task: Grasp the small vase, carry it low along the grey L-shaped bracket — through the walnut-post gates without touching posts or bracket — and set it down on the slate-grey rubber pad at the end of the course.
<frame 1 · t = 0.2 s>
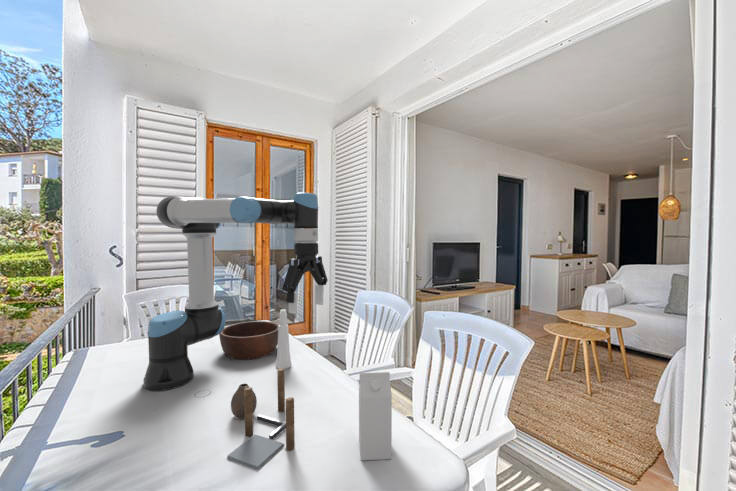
hand: (306, 308, 109), 28 cm above the table, fingers open, 13 cm apart
cosmetic bottle: (283, 366, 132), on the table
posts: (266, 421, 94), on the table
milk carton: (374, 451, 82), on the table
vase: (244, 416, 97), on the table
grey l-shaped bracket: (285, 427, 91), on the table
pad: (256, 451, 81), on the table
wooden bowl: (251, 352, 148), on the table
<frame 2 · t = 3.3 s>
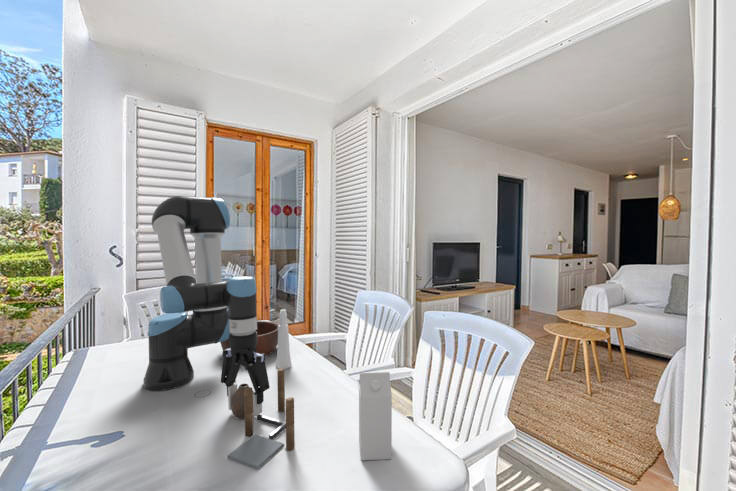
hand: (245, 410, 97), 1 cm above the table, fingers open, 8 cm apart
nothing on the table moved.
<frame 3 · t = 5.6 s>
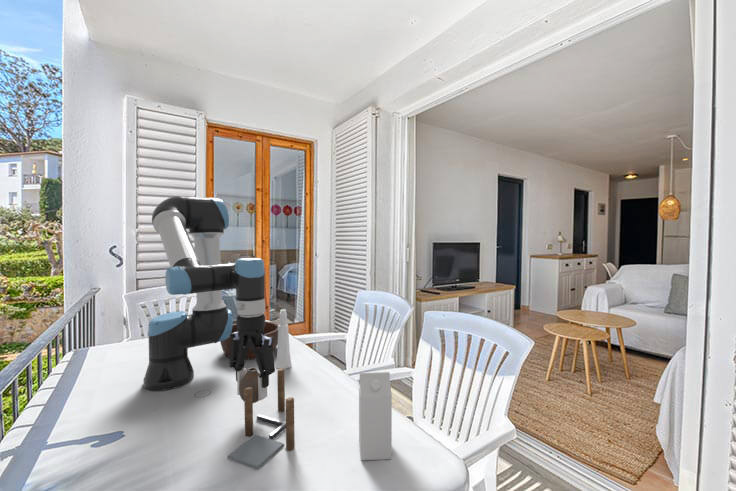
hand: (252, 395, 95), 7 cm above the table, fingers closed on vase, 7 cm apart
vase: (252, 400, 95), point 5 cm above the table, touching gripper
everything else where it was.
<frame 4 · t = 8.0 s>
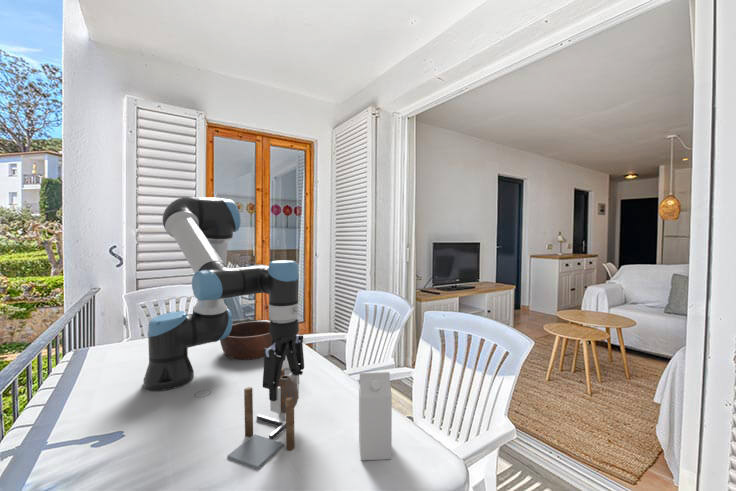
hand: (285, 404, 91), 6 cm above the table, fingers closed on vase, 7 cm apart
vase: (285, 410, 91), point 5 cm above the table, touching gripper
everything else where it was.
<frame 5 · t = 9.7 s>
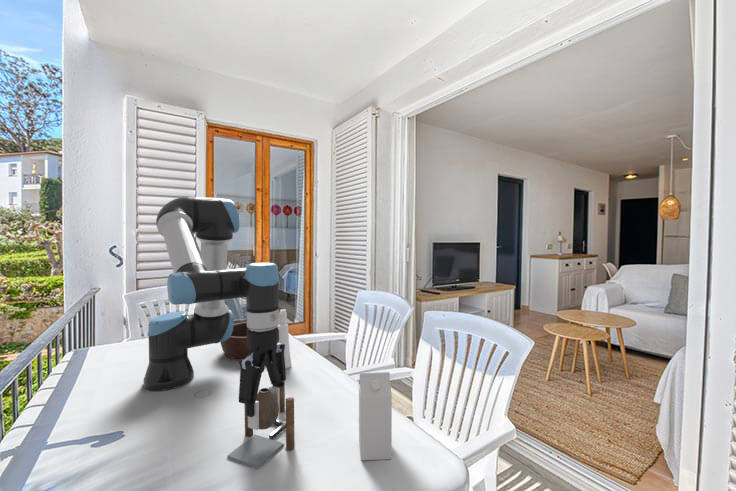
hand: (264, 419, 84), 6 cm above the table, fingers closed on vase, 7 cm apart
vase: (264, 425, 84), point 5 cm above the table, touching gripper
everything else where it was.
when the fingers open (3 cm above the table, at t = 11.5 s): vase stays where it is, resting on pad.
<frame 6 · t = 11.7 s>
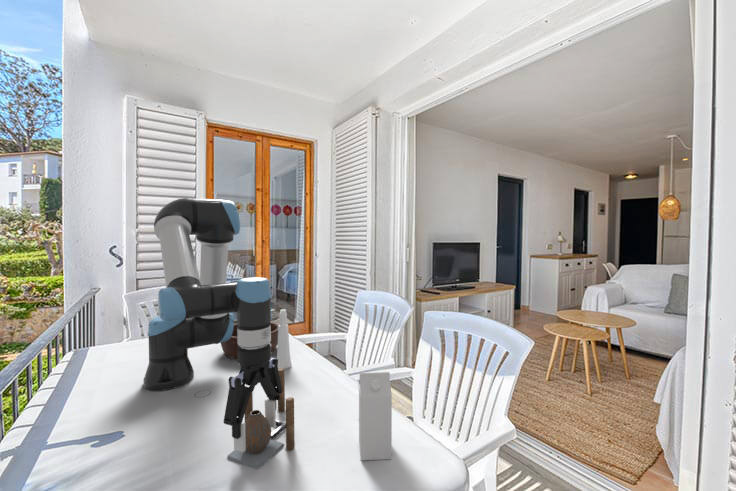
hand: (256, 437, 81), 4 cm above the table, fingers open, 9 cm apart
vase: (256, 449, 81), resting on pad
everything else where it was.
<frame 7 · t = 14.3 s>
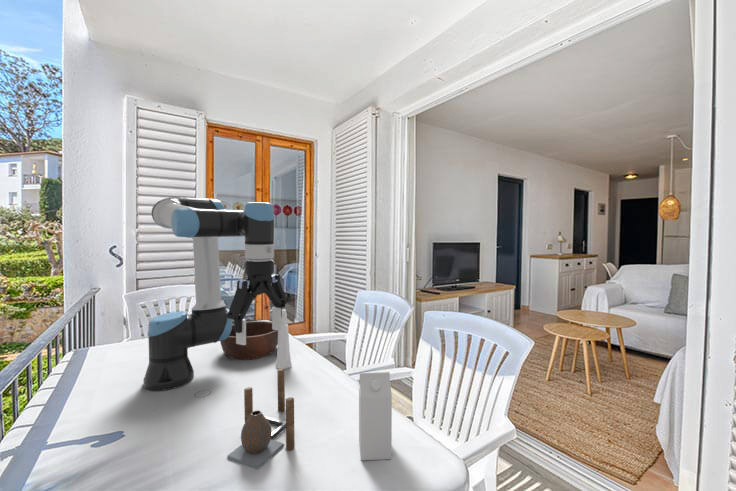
hand: (260, 336, 94), 23 cm above the table, fingers open, 13 cm apart
nothing on the table moved.
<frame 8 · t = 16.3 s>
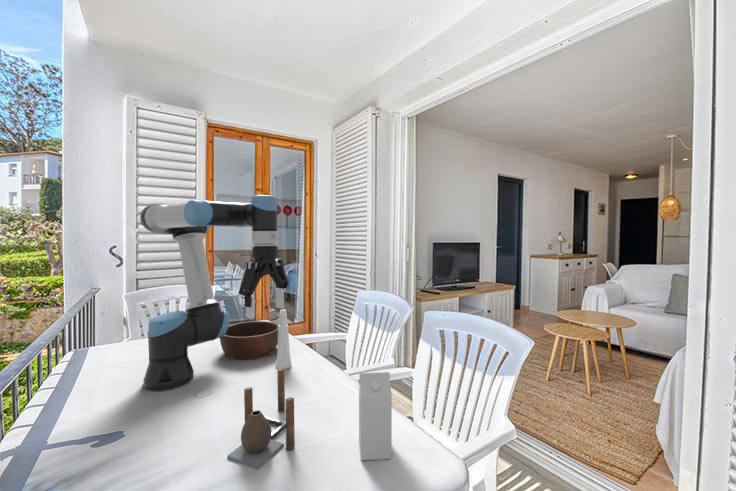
hand: (266, 312, 108), 27 cm above the table, fingers open, 13 cm apart
nothing on the table moved.
at the end: vase inside the target area (0.2 cm from its centre), resting on pad; vase tilted 0°; the gripper is holding nothing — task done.
